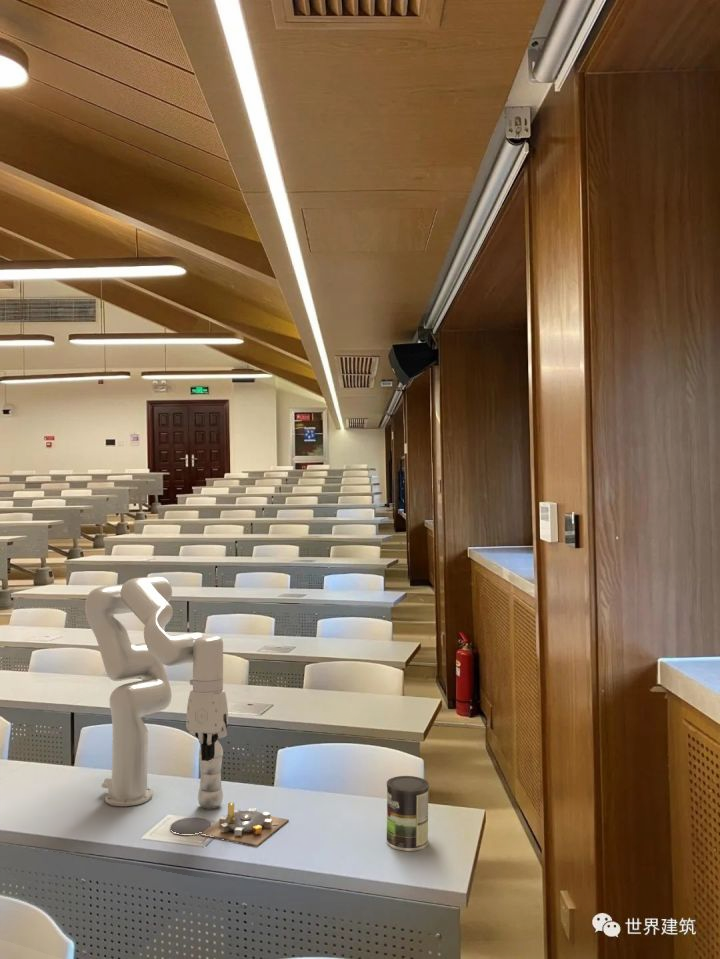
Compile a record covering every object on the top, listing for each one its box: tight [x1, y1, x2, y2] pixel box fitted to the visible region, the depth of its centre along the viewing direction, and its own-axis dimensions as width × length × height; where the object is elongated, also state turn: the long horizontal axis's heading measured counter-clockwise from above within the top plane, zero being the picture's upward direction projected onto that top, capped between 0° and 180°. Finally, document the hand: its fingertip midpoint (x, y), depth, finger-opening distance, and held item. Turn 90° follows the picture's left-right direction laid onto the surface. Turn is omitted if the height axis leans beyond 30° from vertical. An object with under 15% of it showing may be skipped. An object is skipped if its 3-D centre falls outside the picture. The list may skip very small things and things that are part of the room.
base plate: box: [200, 809, 290, 848], centre depth 186 cm, size 16×16×1 cm
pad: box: [170, 816, 212, 834], centre depth 186 cm, size 10×10×1 cm
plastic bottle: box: [197, 739, 224, 810], centre depth 200 cm, size 6×7×20 cm
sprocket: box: [218, 802, 272, 836], centre depth 186 cm, size 13×13×6 cm
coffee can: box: [385, 775, 430, 852], centre depth 179 cm, size 10×10×14 cm
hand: (207, 759), depth 186 cm, fingers closed
